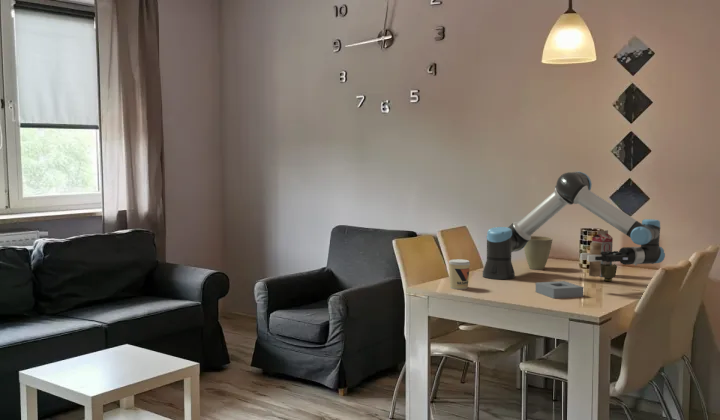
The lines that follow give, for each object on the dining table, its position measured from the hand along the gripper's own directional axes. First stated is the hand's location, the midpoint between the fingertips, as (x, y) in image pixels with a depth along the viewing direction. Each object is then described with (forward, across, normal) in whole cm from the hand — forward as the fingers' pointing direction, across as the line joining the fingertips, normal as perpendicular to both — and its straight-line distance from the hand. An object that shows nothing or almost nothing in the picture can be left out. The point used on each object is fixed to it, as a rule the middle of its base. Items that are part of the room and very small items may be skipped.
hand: (584, 257), depth 297 cm
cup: (-27, +20, -16) cm, 37 cm away
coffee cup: (+47, +24, -16) cm, 55 cm away
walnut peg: (-5, 0, -8) cm, 10 cm away
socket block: (+12, 0, -15) cm, 19 cm away
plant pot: (-14, +61, -16) cm, 65 cm away
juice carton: (-34, +35, -16) cm, 51 cm away
